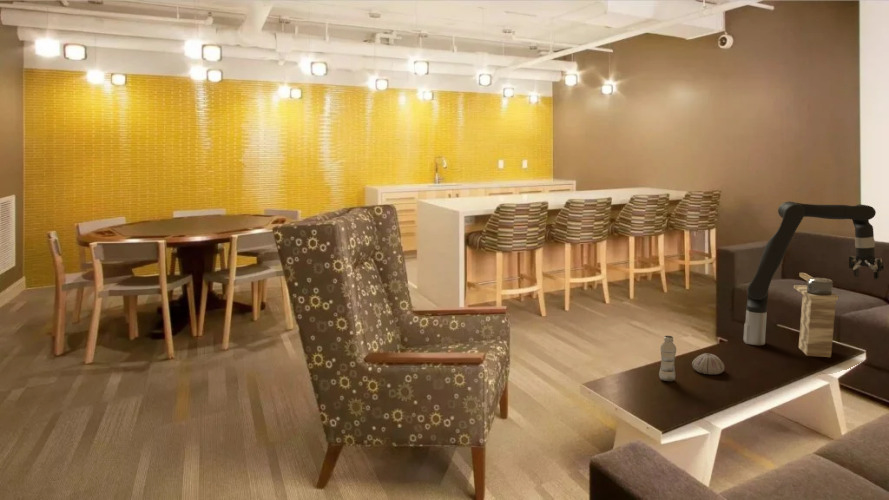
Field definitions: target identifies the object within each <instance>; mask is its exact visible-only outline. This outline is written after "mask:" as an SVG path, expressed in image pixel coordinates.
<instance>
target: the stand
mask: <svg viewBox="0 0 889 500" xmlns="http://www.w3.org/2000/svg"><path fill="white" fill-rule="evenodd" d="M793 289H795V290H796V291H797V292H798V293H800V294H802V297H801V309H800V310H801V311H800V322H799V323H800V326H799V337H798V338H799V339H798V349H799V350H801V352H803V353H804V354H805V356H807V357H821V358H824V357H825V358H832V350H833V339H834V327H835V316H836V314H835V313H836V306H837V305H836V302H837V300H839V296H838V295H837V294H835V293H833V292H832V295H827V296H823V295H813V294H809V293H807V285H806V284H805V285H803V284H802V285H799V284H797V285H796V284H795V285H793Z"/></svg>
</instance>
